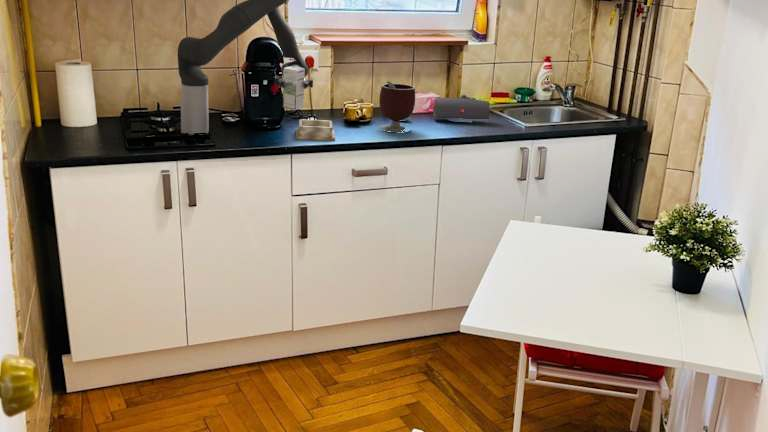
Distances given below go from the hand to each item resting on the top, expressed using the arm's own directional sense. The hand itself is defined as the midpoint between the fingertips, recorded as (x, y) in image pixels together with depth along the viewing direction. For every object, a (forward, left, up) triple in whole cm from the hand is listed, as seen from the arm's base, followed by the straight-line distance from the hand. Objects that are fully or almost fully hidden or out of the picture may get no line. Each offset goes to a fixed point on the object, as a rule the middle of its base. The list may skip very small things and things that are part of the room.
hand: (293, 85), depth 274 cm
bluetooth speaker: (+70, +40, -19) cm, 83 cm away
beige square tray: (+8, +4, -19) cm, 21 cm away
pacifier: (+45, +37, -19) cm, 61 cm away
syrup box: (0, +2, -9) cm, 9 cm away
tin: (+25, +35, -19) cm, 47 cm away
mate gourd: (+39, +19, -19) cm, 48 cm away
